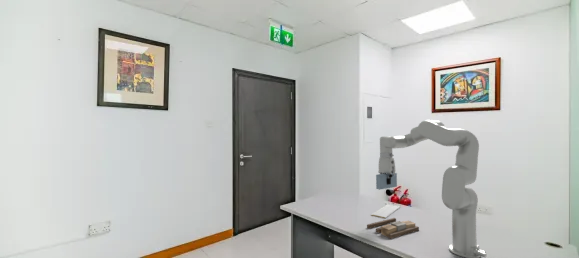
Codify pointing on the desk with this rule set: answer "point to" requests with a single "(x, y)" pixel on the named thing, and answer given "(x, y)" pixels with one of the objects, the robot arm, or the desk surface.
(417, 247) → the desk surface
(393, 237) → the offcut rack
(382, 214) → the baseboard molding
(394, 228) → the offcut
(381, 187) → the tall sheet
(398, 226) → the offcut
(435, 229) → the desk surface
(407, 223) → the offcut
